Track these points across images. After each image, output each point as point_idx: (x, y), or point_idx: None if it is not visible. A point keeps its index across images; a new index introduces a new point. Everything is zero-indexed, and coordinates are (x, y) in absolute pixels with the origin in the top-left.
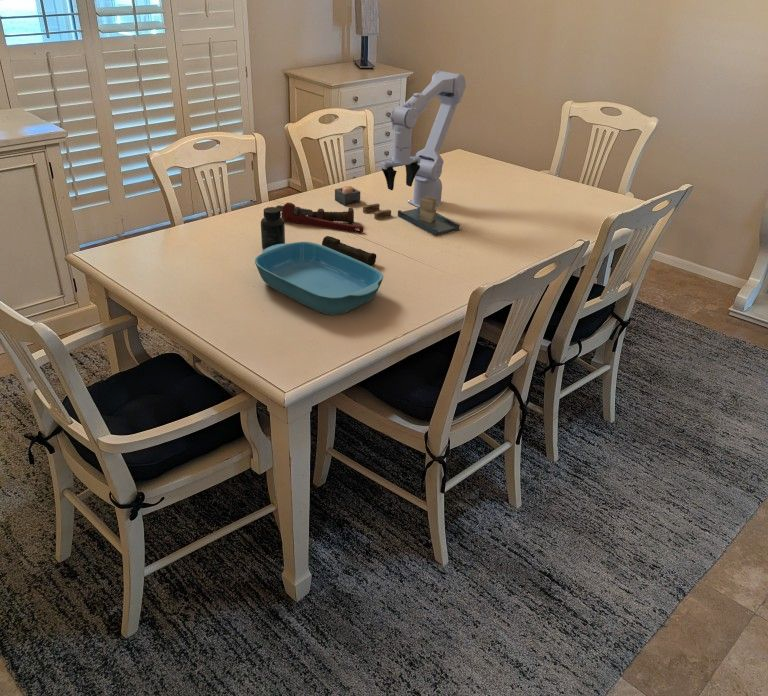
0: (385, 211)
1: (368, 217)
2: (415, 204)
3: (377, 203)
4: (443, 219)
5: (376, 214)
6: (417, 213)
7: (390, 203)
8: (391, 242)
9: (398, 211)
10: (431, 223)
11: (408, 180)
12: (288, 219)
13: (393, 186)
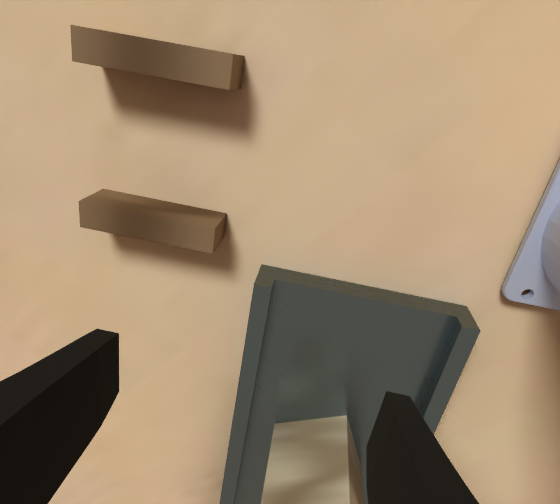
0: (163, 239)
1: (78, 149)
2: (537, 226)
3: (226, 60)
4: None
5: (84, 224)
6: (352, 365)
7: (441, 26)
8: None
9: (253, 288)
10: None
11: (387, 478)
12: None
13: (90, 435)
